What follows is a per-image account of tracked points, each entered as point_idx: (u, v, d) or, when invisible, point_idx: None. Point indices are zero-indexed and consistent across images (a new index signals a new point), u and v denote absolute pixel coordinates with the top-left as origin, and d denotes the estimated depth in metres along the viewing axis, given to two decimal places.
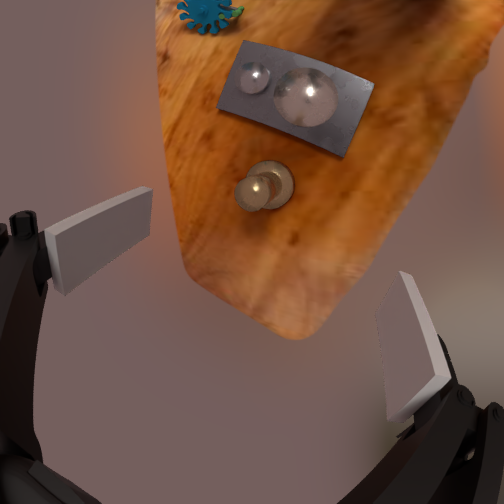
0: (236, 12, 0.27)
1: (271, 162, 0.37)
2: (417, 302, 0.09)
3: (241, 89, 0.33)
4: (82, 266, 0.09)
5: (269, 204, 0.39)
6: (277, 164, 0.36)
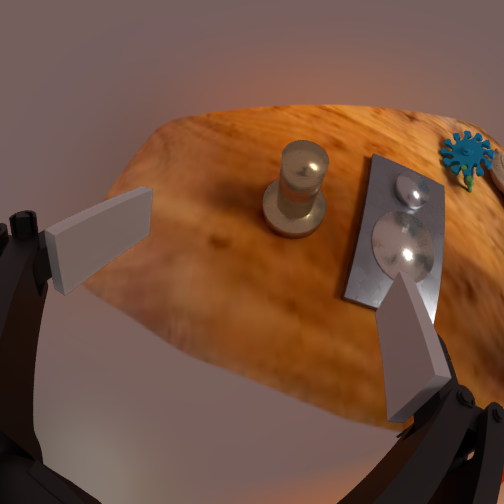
0: (471, 179, 0.28)
1: (324, 205, 0.29)
2: (417, 302, 0.09)
3: (400, 176, 0.30)
4: (82, 266, 0.09)
5: (269, 204, 0.29)
6: (323, 212, 0.29)
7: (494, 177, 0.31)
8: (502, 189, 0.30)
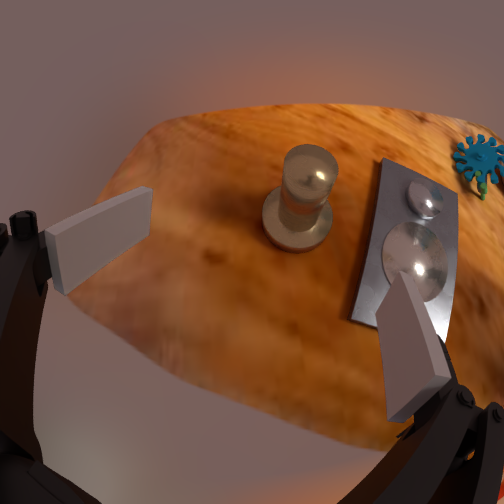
0: (486, 187, 0.25)
1: (331, 217, 0.26)
2: (417, 302, 0.09)
3: (412, 184, 0.27)
4: (82, 266, 0.09)
5: (269, 215, 0.26)
6: (329, 224, 0.26)
7: None
8: None
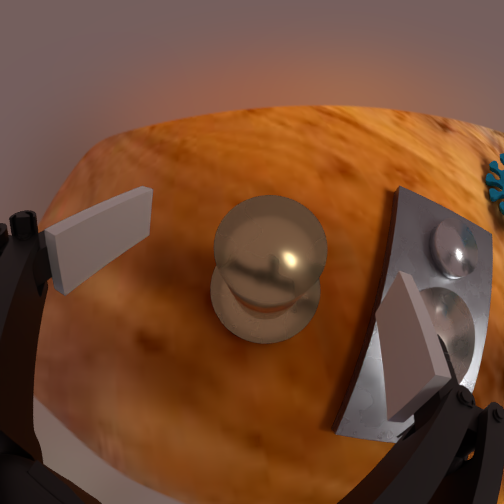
0: None
1: (317, 292, 0.17)
2: (417, 302, 0.09)
3: (440, 229, 0.18)
4: (82, 266, 0.09)
5: (221, 291, 0.17)
6: (314, 306, 0.17)
7: None
8: None
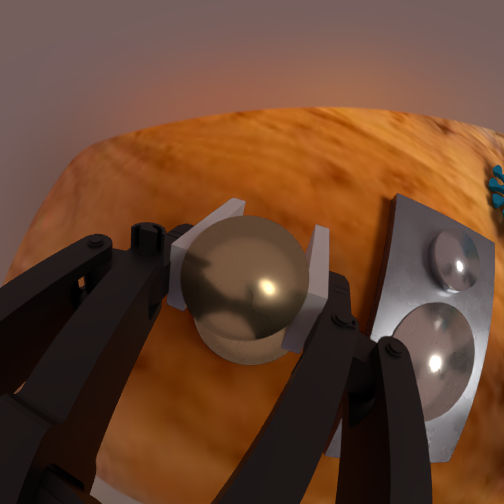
0: None
1: None
2: (320, 245, 0.12)
3: (440, 240, 0.16)
4: None
5: None
6: None
7: None
8: None
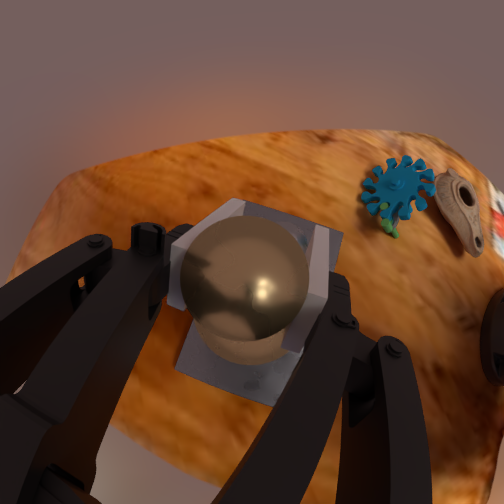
0: (387, 224, 0.27)
1: None
2: (320, 245, 0.12)
3: None
4: None
5: None
6: None
7: (440, 209, 0.29)
8: (451, 225, 0.29)
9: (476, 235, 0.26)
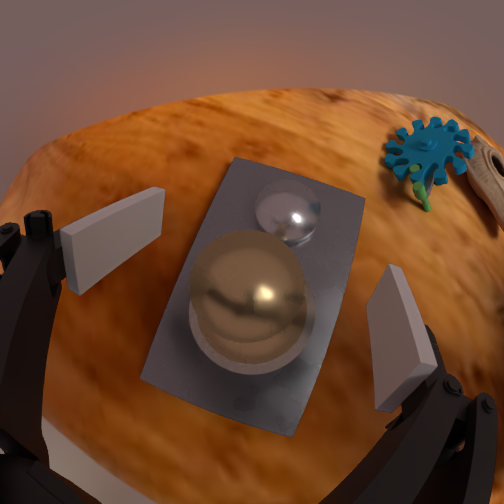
0: (421, 188, 0.19)
1: (304, 314, 0.17)
2: (405, 293, 0.10)
3: (263, 191, 0.21)
4: (97, 266, 0.10)
5: None
6: (300, 327, 0.16)
7: (472, 180, 0.22)
8: (485, 198, 0.21)
9: None
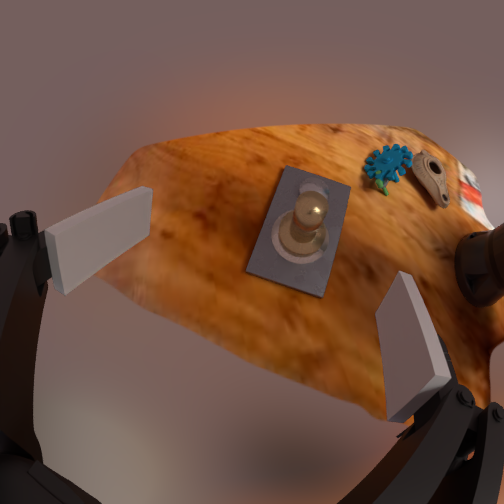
0: (379, 182, 0.42)
1: (324, 232, 0.39)
2: (417, 302, 0.09)
3: (302, 182, 0.43)
4: (82, 266, 0.09)
5: (283, 232, 0.39)
6: (323, 238, 0.39)
7: (416, 176, 0.44)
8: (425, 187, 0.44)
9: (443, 193, 0.41)
